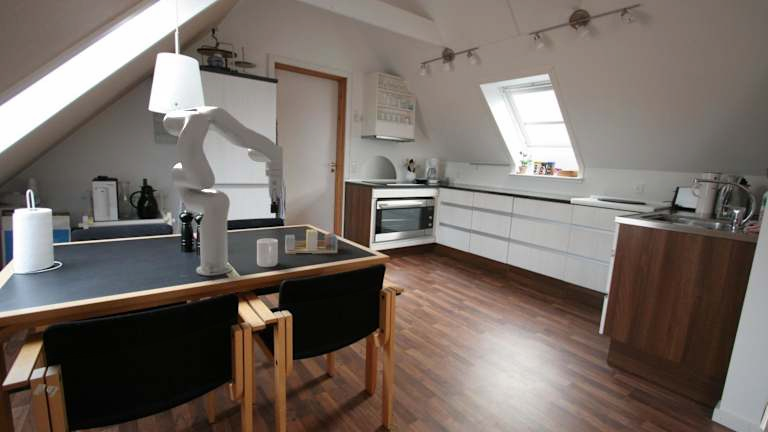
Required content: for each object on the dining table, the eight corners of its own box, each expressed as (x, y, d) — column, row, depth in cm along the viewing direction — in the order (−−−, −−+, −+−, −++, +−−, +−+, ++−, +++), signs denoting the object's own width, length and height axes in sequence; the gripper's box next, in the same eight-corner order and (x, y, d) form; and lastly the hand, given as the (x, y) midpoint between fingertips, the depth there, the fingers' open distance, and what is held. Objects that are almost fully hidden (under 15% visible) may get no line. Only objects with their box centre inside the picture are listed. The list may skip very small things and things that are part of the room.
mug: (281, 269, 149) (282, 244, 147) (260, 271, 145) (260, 245, 143) (275, 260, 159) (275, 237, 158) (255, 262, 155) (255, 238, 154)
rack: (337, 252, 177) (337, 236, 176) (286, 254, 170) (286, 237, 169) (333, 248, 186) (334, 232, 185) (285, 249, 178) (285, 232, 177)
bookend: (294, 250, 172) (295, 237, 171) (286, 250, 171) (286, 237, 170) (293, 246, 178) (294, 234, 177) (285, 247, 177) (285, 234, 176)
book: (317, 250, 174) (317, 232, 173) (307, 251, 173) (308, 232, 171) (315, 247, 181) (315, 229, 179) (306, 247, 179) (306, 229, 178)
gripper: (283, 174, 160) (283, 215, 164) (282, 172, 174) (281, 210, 178) (265, 174, 158) (265, 215, 161) (265, 171, 172) (265, 210, 175)
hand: (274, 212), depth 169 cm, fingers closed
